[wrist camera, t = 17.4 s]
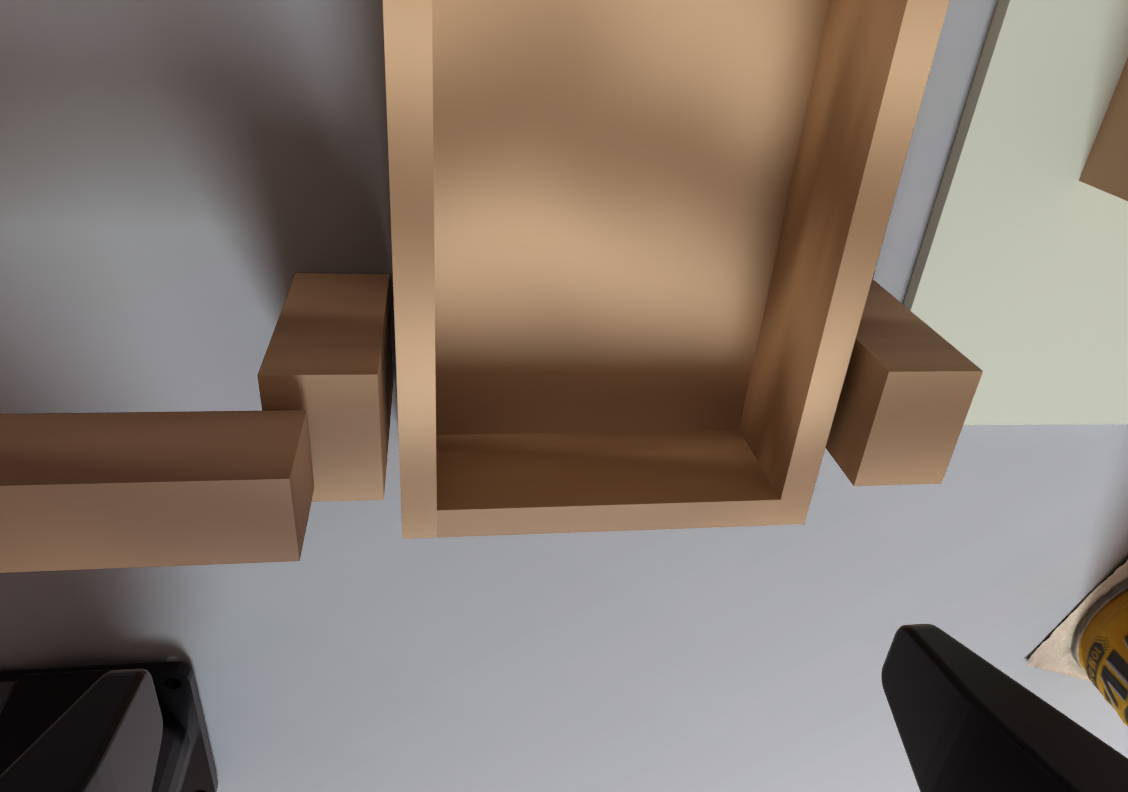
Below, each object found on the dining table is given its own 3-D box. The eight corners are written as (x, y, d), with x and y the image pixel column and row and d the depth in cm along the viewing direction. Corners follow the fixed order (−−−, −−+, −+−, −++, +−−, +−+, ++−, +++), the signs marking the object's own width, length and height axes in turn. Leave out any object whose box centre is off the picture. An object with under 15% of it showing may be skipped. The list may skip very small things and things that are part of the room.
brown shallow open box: (830, 435, 25) (916, 549, 20) (312, 445, 22) (283, 576, 18) (1015, -229, 16) (1224, -278, 12) (236, -323, 14) (149, -426, 10)
